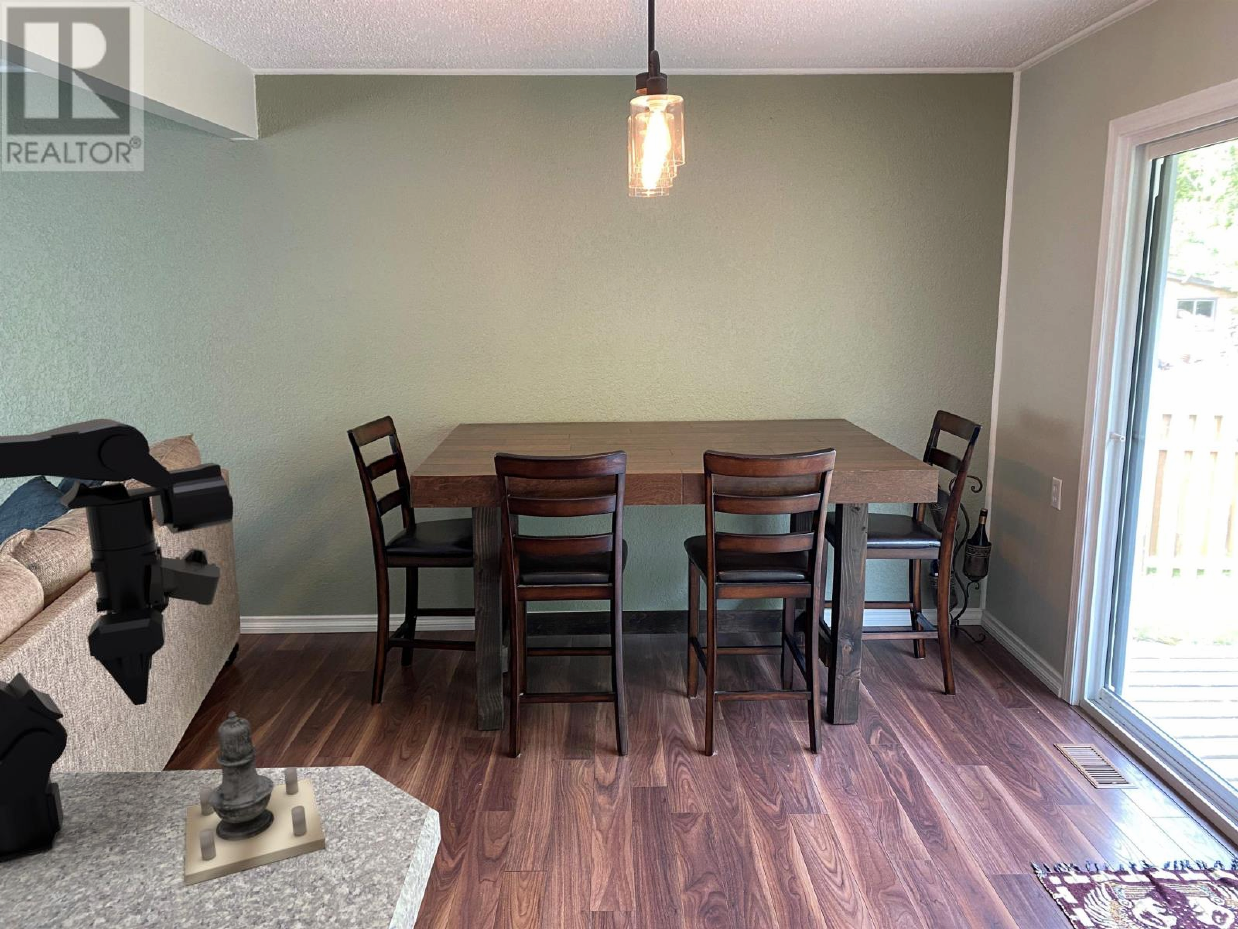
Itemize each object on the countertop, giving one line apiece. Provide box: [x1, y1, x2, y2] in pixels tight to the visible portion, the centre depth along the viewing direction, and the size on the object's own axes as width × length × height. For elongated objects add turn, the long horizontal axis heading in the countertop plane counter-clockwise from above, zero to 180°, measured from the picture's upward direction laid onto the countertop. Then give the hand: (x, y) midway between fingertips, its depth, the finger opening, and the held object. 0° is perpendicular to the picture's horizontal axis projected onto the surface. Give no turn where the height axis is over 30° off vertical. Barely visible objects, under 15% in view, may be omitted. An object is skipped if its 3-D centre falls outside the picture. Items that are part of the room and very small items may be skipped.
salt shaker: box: [209, 710, 275, 841], centre depth 85 cm, size 6×6×12 cm
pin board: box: [184, 766, 326, 886], centre depth 86 cm, size 12×12×4 cm
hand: (143, 686), depth 92 cm, fingers open, 9 cm apart
